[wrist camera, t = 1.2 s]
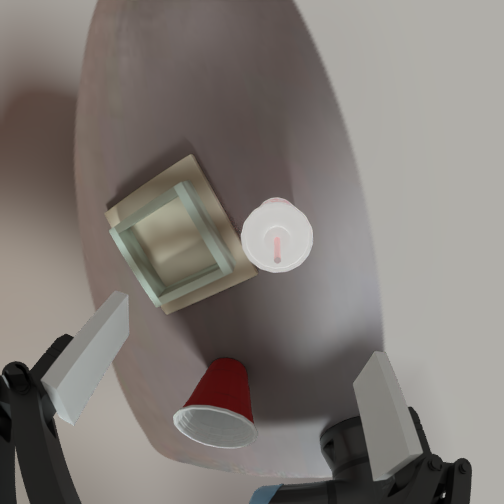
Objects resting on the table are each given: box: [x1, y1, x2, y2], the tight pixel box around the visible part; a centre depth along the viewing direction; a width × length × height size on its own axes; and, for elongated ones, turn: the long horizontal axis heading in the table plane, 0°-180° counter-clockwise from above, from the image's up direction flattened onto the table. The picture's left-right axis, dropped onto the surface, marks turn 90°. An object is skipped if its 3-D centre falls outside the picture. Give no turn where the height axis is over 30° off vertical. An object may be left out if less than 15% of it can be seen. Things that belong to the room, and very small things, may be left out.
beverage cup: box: [241, 197, 313, 273], centre depth 25 cm, size 6×6×14 cm
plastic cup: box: [173, 358, 258, 448], centre depth 34 cm, size 11×11×12 cm
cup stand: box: [105, 154, 258, 315], centre depth 32 cm, size 16×14×4 cm
